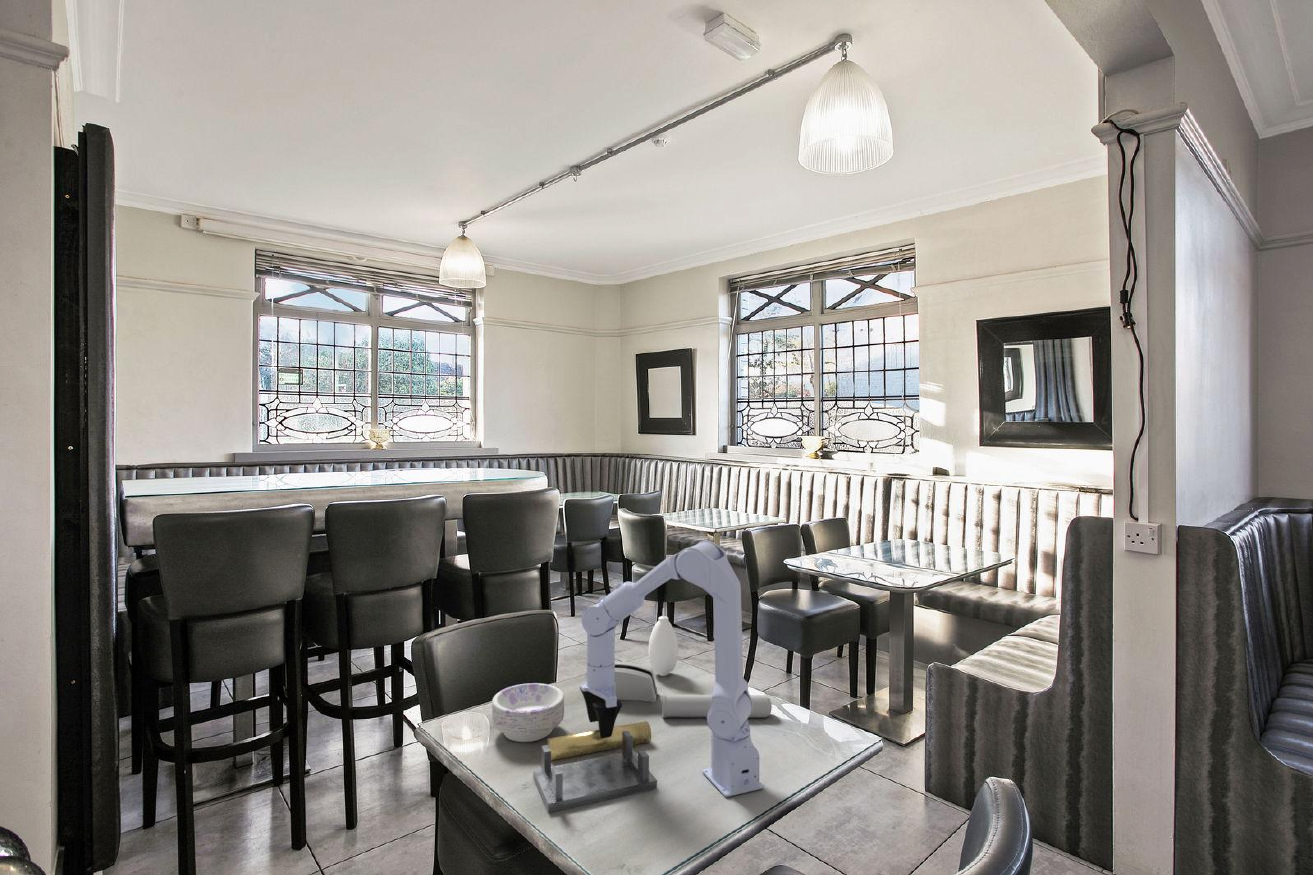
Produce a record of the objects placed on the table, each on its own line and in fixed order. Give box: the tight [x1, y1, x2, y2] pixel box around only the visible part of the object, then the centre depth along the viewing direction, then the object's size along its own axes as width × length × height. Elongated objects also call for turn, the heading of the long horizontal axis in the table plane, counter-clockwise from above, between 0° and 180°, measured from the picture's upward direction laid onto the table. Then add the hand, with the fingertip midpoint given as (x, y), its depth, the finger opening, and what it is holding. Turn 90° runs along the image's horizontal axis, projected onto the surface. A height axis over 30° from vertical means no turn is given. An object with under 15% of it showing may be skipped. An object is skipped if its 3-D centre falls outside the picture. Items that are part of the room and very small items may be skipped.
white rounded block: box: [615, 661, 658, 702], centre depth 161 cm, size 17×5×10 cm, turn 81°
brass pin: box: [546, 720, 652, 761], centre depth 135 cm, size 21×4×4 cm, turn 113°
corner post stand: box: [532, 731, 658, 813], centre depth 122 cm, size 12×20×6 cm, turn 113°
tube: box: [661, 692, 773, 719], centre depth 151 cm, size 5×5×25 cm
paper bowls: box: [491, 682, 565, 743], centre depth 142 cm, size 15×15×8 cm
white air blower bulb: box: [648, 607, 679, 677], centre depth 176 cm, size 8×8×18 cm
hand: (600, 728), depth 135 cm, fingers open, 7 cm apart
